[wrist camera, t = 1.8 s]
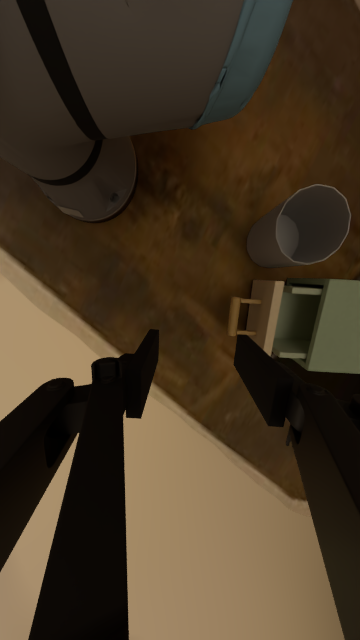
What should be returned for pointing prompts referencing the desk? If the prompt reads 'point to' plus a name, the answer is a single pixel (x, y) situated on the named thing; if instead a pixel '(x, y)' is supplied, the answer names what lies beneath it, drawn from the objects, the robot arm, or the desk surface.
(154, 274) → the desk surface
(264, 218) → the cup
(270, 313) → the drawer
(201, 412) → the desk surface
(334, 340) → the cabinet
